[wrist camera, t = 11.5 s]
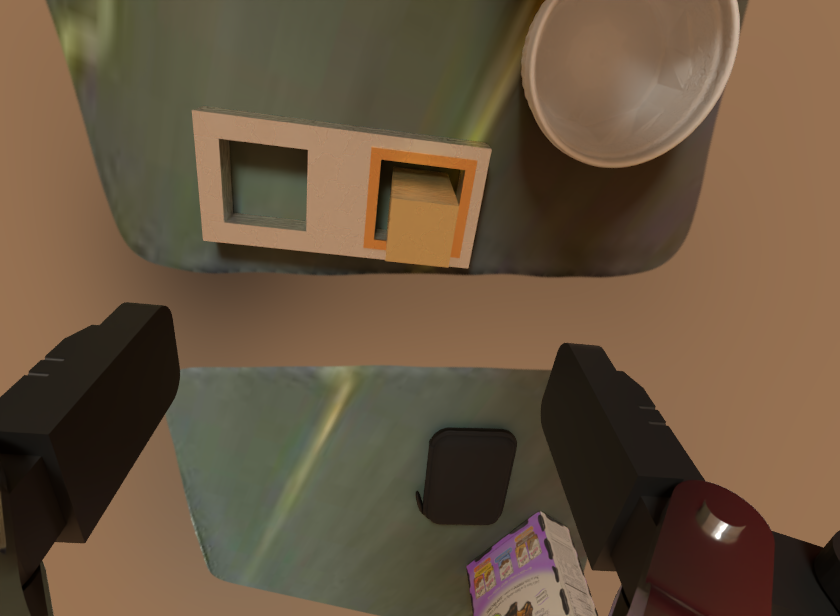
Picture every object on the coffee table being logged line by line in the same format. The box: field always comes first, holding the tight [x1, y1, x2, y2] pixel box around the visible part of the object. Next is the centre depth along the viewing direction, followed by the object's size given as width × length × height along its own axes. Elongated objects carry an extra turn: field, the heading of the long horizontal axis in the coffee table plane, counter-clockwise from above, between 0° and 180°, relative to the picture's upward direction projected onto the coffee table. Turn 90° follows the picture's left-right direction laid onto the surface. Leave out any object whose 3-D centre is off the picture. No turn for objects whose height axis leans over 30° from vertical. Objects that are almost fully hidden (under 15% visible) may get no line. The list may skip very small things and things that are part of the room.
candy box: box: [467, 511, 598, 616], centre depth 57 cm, size 14×6×16 cm, turn 140°
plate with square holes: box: [192, 106, 492, 268], centre depth 40 cm, size 10×22×3 cm, turn 83°
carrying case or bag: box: [416, 428, 517, 525], centre depth 56 cm, size 11×3×15 cm
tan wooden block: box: [385, 166, 459, 268], centre depth 37 cm, size 4×4×9 cm
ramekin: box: [521, 0, 740, 168], centre depth 34 cm, size 13×13×7 cm
